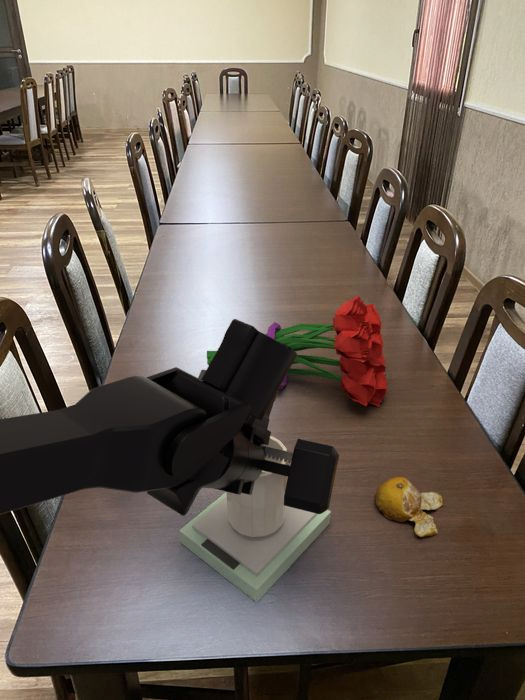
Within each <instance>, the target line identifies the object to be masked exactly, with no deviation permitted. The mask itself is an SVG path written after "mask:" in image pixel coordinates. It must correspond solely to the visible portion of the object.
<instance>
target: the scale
mask: <svg viewBox="0 0 525 700" xmlns="http://www.w3.org/2000/svg"><path fill="white" fill-rule="evenodd" d="M331 516H332V511H331V510H330V509H328V510H327V511H325V512H323V513H322V514H316V513H312V512H308V511H304V510H300V509H296V508H292V507H288V506H286V512H285V518H284V521H283V524H282V526H281V527H279V528H278V529H277V530H276V531H275V532H274V533H271V534H269V535H266V536H262V537H250V536H246V535H242V534H240V533H239V532H237V531H236V530H235V529H233V527H232V526H231V524H230V523H229V521H228V517H227V492H226V491H224V493H222V495H220V496H219V497H218V498H217V499H216V500H214V501H213V502H212V503H211V504H209V505H208V506H207V507H206V508H205V509H203V510H202V511H201V512H200V513H198V514H197V515H196V516H195V517H193V519H191V520H190V521H189V522H187V523H186V524H185V525H184V526H183V527H182V528H180V529H179V542H180V544H182V545H183V546H184V547H185V548H186V549H188V550H189V551H191V552H192V553H193V554H194V555H195V556H197V557H198V558H199V559H200V560H202V561H203V562H205V564H207V565H208V566H209V567H211V568H212V569H213V570H214V571H216V572H217V573H218V574H220V575H222V577H223V578H224V579H226V580H227V581H228V582H230V583H231V584H232V585H233V586H235V587H236V588H238V589H239V590H240V591H241V592H242V593H244V594H245V595H246V596H248V597H249V598H250V599H252V600H253V601H254V602H255V603H258V602H259V601H260V600H261V599H262V598H263V597H264V595H265V594H266V593H267V592H268V591H269V590H270V589H271V588H272V587H273V586H274V585H275V583H276V582H277V581H278V580H279V579H280V578H281V577H282V576H283V575H284V574H285V573H286V572H287V570H288V569H290V567H291V566H292V565H293V564H294V563H295V562H296V561H297V560H298V558H300V556H301V555H302V554H304V552H305V551H306V550H307V549H308V548H309V547H310V546H311V545H312V544H313V542H314V541H315V540H316V539H317V538H318V537H319V536H320V535H321V534H322V533H323V532H324V530H326V528H328V526H329V525H330V524H331Z"/></svg>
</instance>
